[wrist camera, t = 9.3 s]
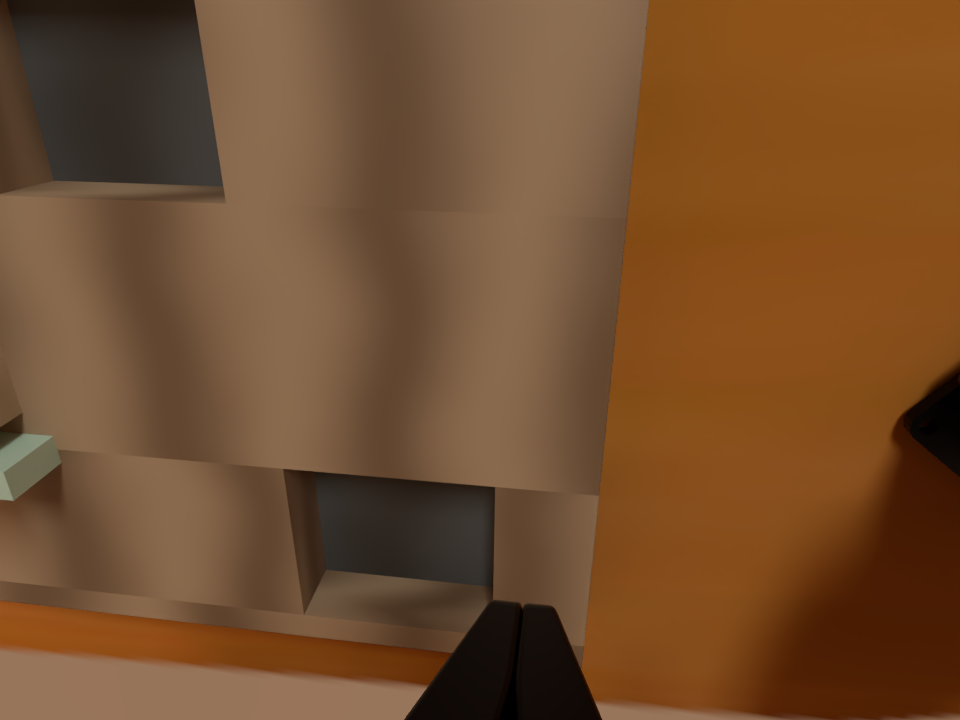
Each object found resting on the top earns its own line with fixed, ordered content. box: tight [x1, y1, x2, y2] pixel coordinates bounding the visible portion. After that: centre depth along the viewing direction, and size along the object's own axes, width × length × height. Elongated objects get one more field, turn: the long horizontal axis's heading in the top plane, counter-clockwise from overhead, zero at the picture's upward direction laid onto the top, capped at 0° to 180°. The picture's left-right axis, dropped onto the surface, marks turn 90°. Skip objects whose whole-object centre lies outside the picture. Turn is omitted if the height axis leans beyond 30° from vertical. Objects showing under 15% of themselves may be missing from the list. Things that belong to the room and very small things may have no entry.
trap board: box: [0, 0, 649, 668], centre depth 20 cm, size 24×22×2 cm
